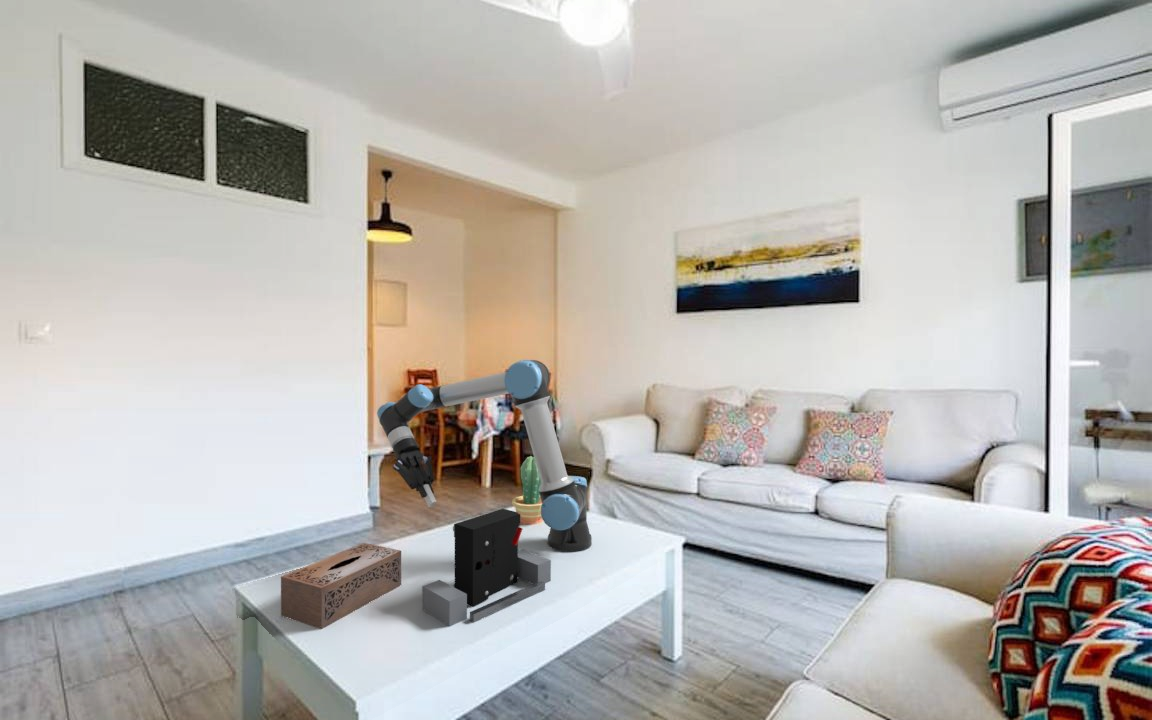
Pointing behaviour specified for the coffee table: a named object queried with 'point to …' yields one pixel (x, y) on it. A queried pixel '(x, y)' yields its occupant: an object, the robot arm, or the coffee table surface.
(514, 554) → the electrical component
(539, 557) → the block
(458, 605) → the block
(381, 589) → the tissue box cover
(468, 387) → the robot arm
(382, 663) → the coffee table surface
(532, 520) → the potted cactus
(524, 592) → the metal rail
